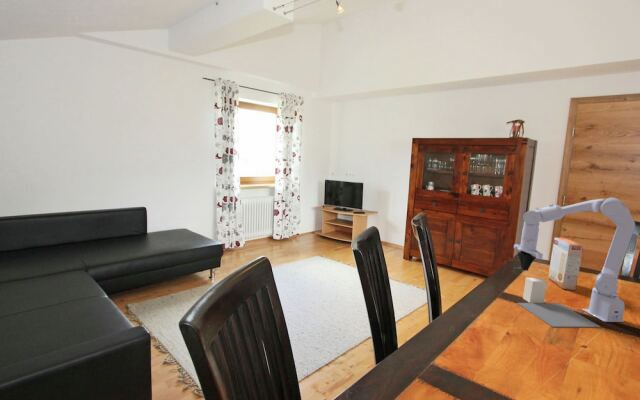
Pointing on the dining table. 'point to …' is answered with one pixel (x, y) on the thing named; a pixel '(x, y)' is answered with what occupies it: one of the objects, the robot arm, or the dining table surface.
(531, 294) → the marked block
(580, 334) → the dining table surface
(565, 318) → the mat
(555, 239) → the cracker box
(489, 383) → the dining table surface
